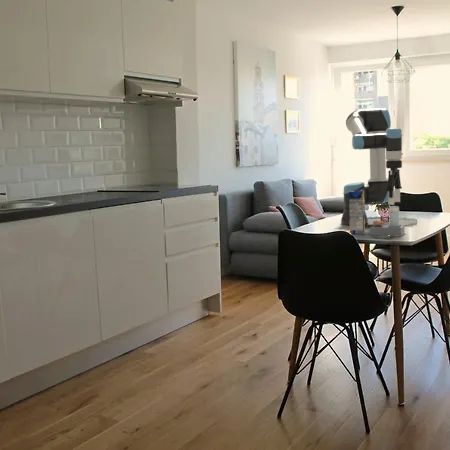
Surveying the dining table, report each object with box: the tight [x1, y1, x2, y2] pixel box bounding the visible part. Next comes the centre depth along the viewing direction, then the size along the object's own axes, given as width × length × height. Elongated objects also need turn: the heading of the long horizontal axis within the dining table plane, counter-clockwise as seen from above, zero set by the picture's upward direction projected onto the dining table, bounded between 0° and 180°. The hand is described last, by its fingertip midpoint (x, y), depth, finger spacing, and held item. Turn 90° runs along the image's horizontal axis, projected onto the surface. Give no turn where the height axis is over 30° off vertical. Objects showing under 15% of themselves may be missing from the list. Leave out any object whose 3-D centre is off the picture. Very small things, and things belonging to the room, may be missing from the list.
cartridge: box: [389, 205, 400, 228], centre depth 297 cm, size 5×5×14 cm
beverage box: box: [348, 190, 366, 236], centre depth 306 cm, size 7×11×22 cm, turn 163°
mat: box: [372, 235, 394, 239], centre depth 289 cm, size 8×7×1 cm
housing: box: [369, 224, 405, 237], centre depth 299 cm, size 15×9×4 cm, turn 62°
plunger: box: [372, 220, 384, 227], centre depth 301 cm, size 5×5×6 cm
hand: (394, 203), depth 295 cm, fingers open, 13 cm apart
